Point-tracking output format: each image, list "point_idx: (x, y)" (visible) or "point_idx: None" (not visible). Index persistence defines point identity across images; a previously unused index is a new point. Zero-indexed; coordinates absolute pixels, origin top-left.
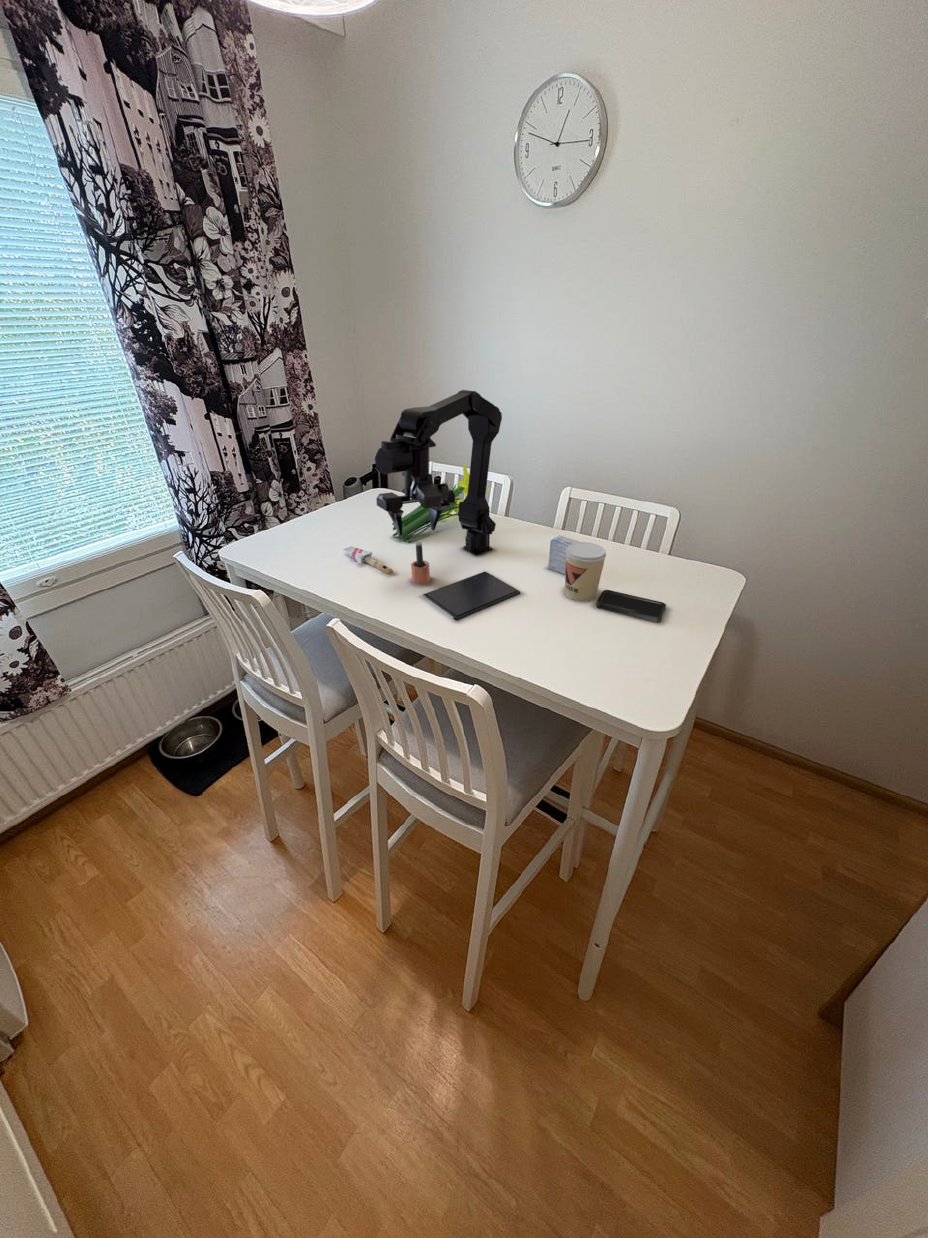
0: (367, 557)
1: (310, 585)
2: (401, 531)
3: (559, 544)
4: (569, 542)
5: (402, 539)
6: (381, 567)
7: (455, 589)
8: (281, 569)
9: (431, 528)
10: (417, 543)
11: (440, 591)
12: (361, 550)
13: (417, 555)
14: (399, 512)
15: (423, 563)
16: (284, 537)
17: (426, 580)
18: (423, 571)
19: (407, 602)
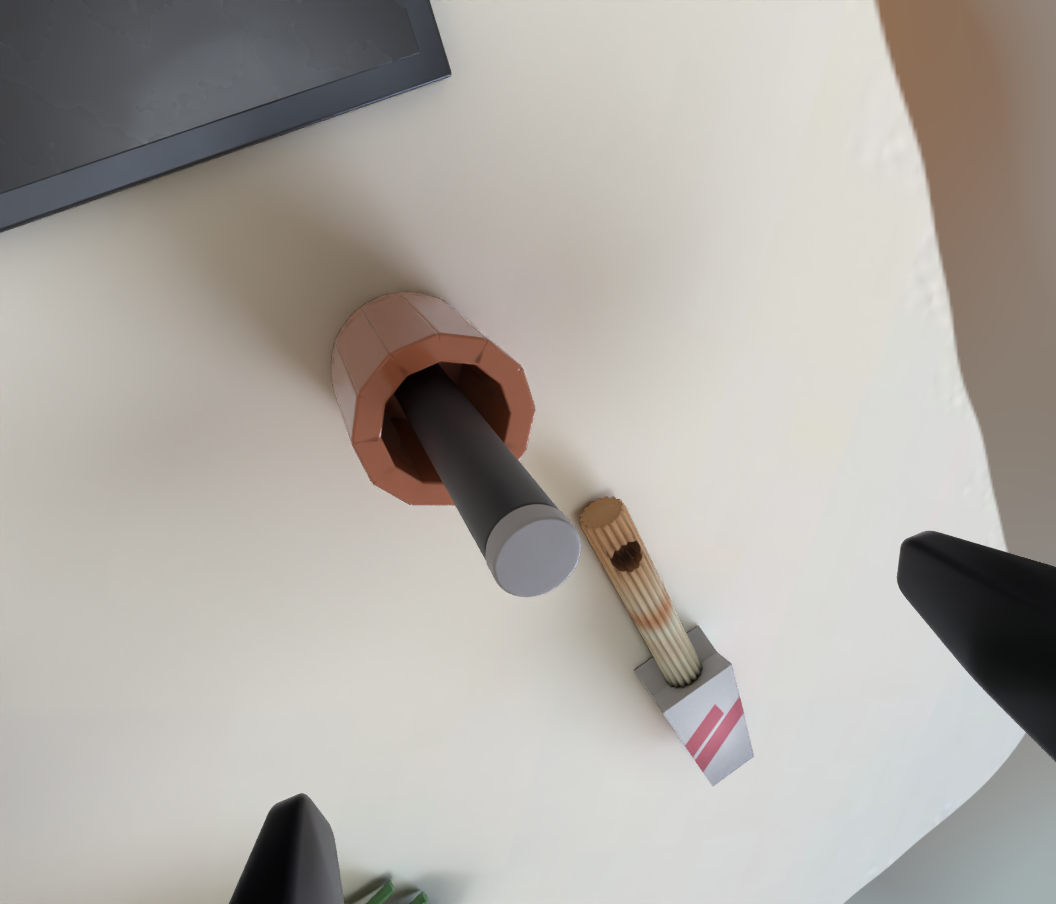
0: (690, 668)
1: (952, 455)
2: (998, 568)
3: None
4: None
5: (423, 897)
6: (647, 557)
7: (70, 10)
8: None
9: (328, 840)
10: (559, 540)
11: (269, 40)
12: (696, 739)
13: (510, 451)
14: None
15: (400, 462)
16: (863, 843)
17: (377, 307)
18: (425, 323)
19: (592, 32)
